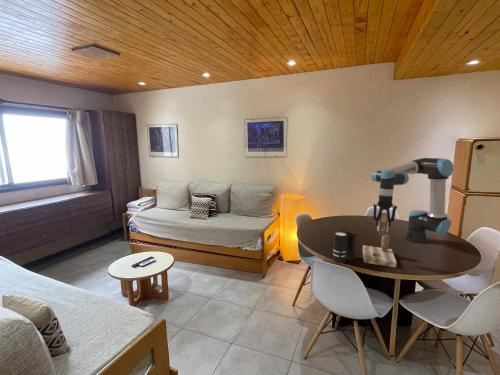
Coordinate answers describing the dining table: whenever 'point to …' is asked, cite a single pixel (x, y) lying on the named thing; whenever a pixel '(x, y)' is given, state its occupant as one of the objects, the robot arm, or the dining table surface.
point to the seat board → (379, 254)
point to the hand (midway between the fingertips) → (382, 231)
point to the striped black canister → (344, 246)
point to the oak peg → (383, 224)
